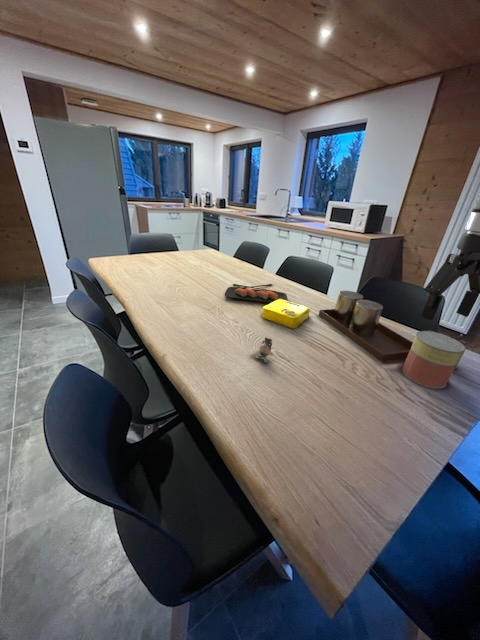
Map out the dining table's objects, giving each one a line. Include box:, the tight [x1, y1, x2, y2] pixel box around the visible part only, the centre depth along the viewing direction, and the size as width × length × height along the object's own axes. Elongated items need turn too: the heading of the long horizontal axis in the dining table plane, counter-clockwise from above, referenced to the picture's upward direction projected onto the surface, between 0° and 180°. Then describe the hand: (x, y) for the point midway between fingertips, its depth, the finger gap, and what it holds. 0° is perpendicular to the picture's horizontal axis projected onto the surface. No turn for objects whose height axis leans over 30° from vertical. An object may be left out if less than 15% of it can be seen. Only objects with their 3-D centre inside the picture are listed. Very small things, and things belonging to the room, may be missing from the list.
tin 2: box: [349, 299, 384, 337], centre depth 97 cm, size 9×9×11 cm
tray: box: [318, 308, 414, 363], centre depth 98 cm, size 34×17×3 cm, turn 18°
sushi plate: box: [224, 283, 288, 304], centre depth 131 cm, size 29×30×4 cm
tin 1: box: [333, 290, 364, 325], centre depth 106 cm, size 9×9×11 cm
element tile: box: [261, 299, 311, 329], centre depth 107 cm, size 15×15×5 cm
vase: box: [252, 337, 273, 363], centre depth 79 cm, size 5×5×6 cm
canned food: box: [401, 330, 466, 390], centre depth 75 cm, size 11×11×12 cm
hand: (444, 316), depth 71 cm, fingers open, 13 cm apart
